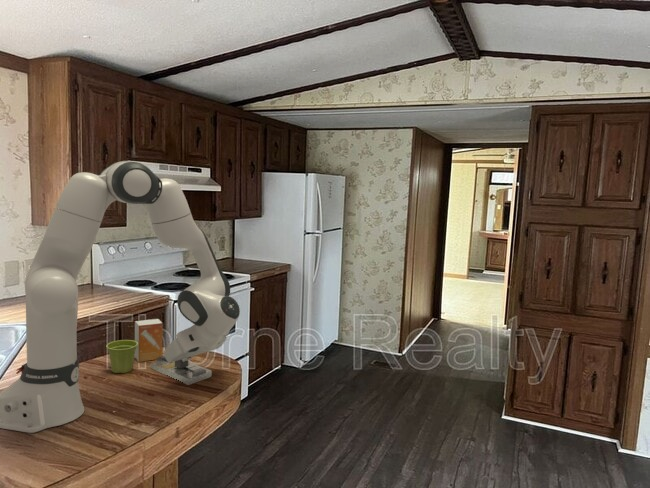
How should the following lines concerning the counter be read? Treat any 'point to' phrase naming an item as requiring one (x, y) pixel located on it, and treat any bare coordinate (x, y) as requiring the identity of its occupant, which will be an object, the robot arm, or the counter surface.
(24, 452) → the counter surface
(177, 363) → the fader knob
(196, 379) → the fader console
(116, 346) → the plant pot
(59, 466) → the counter surface
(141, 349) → the small box
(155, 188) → the robot arm
